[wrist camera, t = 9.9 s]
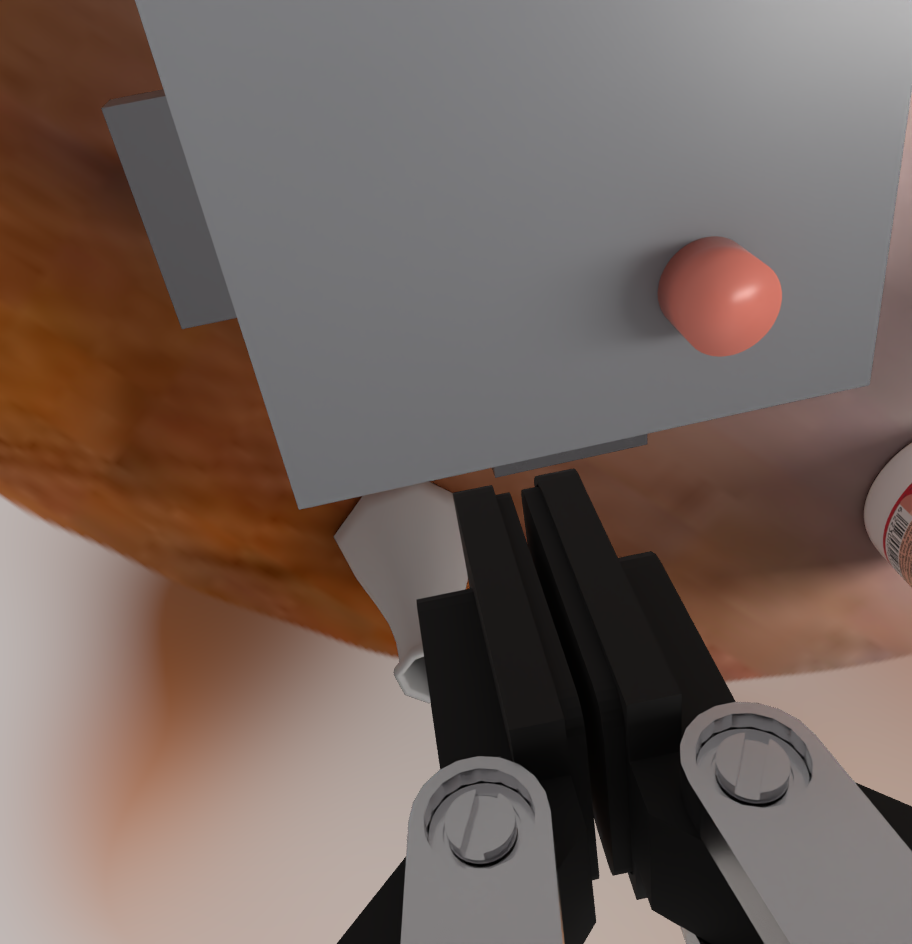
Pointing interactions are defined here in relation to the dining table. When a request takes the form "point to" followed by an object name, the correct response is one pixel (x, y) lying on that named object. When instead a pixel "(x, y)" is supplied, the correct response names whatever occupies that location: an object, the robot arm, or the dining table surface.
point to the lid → (520, 214)
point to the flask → (405, 564)
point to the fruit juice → (892, 513)
